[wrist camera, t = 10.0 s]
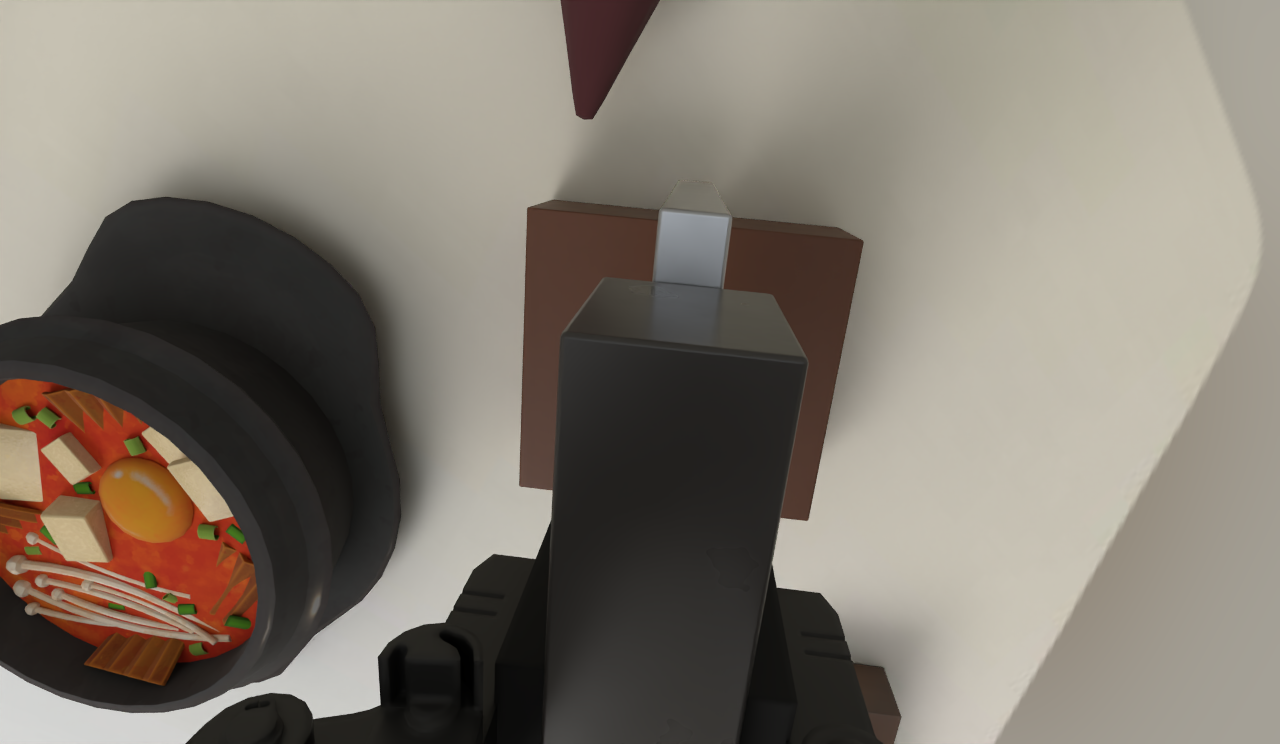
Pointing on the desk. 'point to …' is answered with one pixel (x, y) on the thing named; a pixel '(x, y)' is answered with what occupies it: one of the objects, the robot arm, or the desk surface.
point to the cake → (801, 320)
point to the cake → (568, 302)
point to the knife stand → (879, 702)
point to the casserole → (188, 462)
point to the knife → (666, 492)
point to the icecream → (600, 45)
